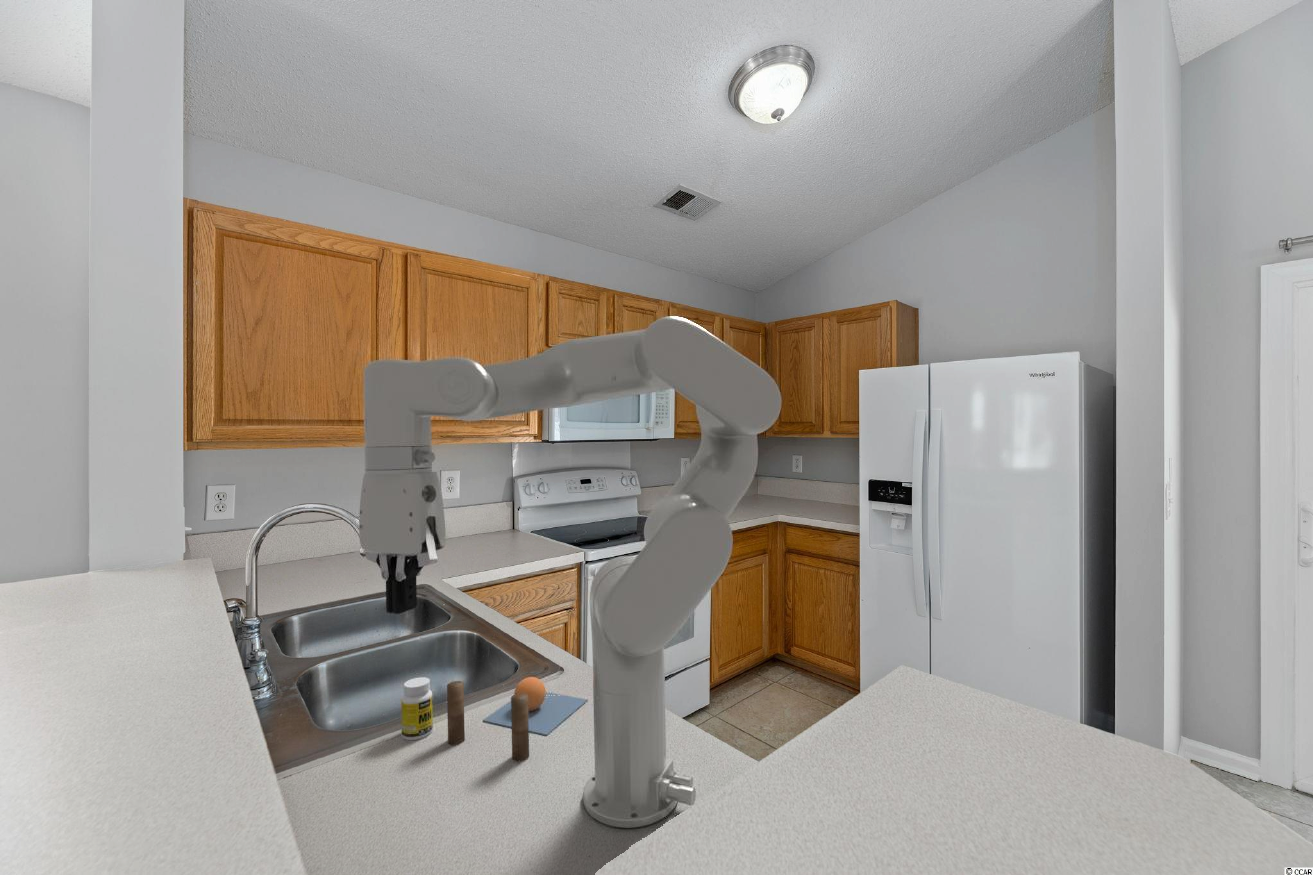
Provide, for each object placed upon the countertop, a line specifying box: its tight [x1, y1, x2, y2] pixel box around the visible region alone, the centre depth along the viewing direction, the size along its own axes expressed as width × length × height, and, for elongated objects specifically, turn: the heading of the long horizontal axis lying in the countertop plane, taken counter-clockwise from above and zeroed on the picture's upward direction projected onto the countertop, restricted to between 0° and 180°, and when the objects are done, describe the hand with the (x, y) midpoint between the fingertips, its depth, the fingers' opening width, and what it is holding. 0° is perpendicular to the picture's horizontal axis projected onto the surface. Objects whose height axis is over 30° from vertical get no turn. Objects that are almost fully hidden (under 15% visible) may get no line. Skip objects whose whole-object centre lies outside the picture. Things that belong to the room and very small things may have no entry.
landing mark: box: [482, 691, 589, 736], centre depth 99 cm, size 13×13×1 cm
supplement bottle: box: [400, 676, 434, 741], centre depth 92 cm, size 5×5×8 cm
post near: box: [510, 693, 530, 763], centre depth 85 cm, size 2×2×9 cm
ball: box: [513, 676, 547, 711], centre depth 99 cm, size 6×6×6 cm
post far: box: [446, 680, 466, 746], centre depth 89 cm, size 2×2×9 cm
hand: (401, 610), depth 69 cm, fingers closed
